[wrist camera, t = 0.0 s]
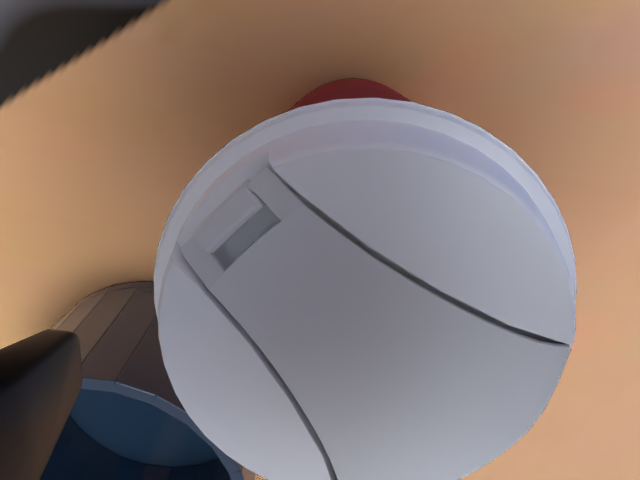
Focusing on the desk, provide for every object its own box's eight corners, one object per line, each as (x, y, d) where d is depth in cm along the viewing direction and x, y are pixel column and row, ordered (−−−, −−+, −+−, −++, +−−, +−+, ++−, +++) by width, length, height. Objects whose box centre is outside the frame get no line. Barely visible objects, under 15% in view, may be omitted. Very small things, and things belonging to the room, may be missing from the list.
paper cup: (218, 144, 22) (33, 336, 9) (359, 1, 19) (388, -20, 7) (348, 272, 24) (352, 581, 11) (490, 156, 21) (708, 373, 9)
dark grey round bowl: (265, 475, 29) (241, 609, 22) (60, 452, 29) (-22, 579, 22) (280, 295, 24) (257, 397, 18) (39, 268, 24) (-71, 360, 18)
